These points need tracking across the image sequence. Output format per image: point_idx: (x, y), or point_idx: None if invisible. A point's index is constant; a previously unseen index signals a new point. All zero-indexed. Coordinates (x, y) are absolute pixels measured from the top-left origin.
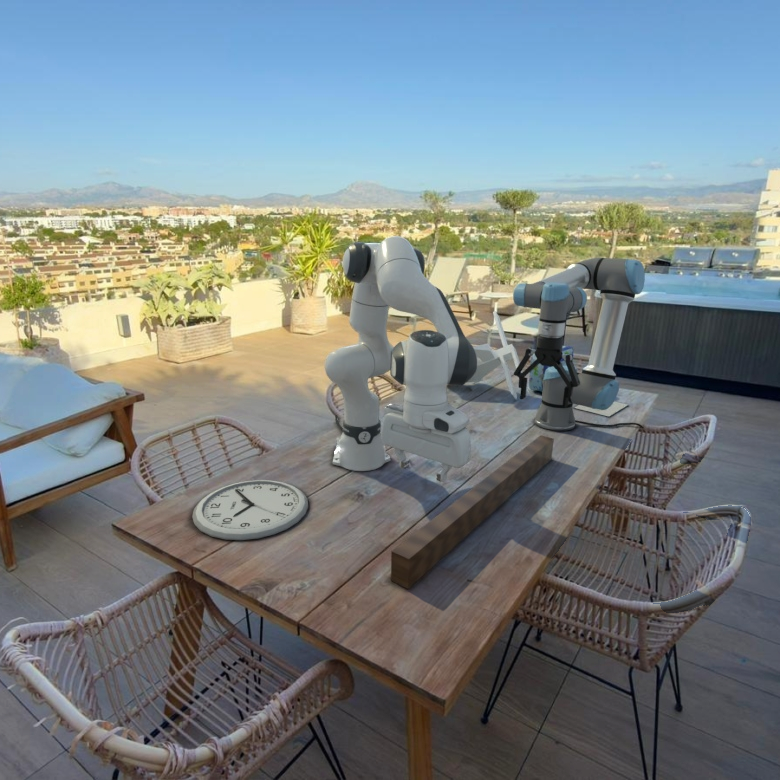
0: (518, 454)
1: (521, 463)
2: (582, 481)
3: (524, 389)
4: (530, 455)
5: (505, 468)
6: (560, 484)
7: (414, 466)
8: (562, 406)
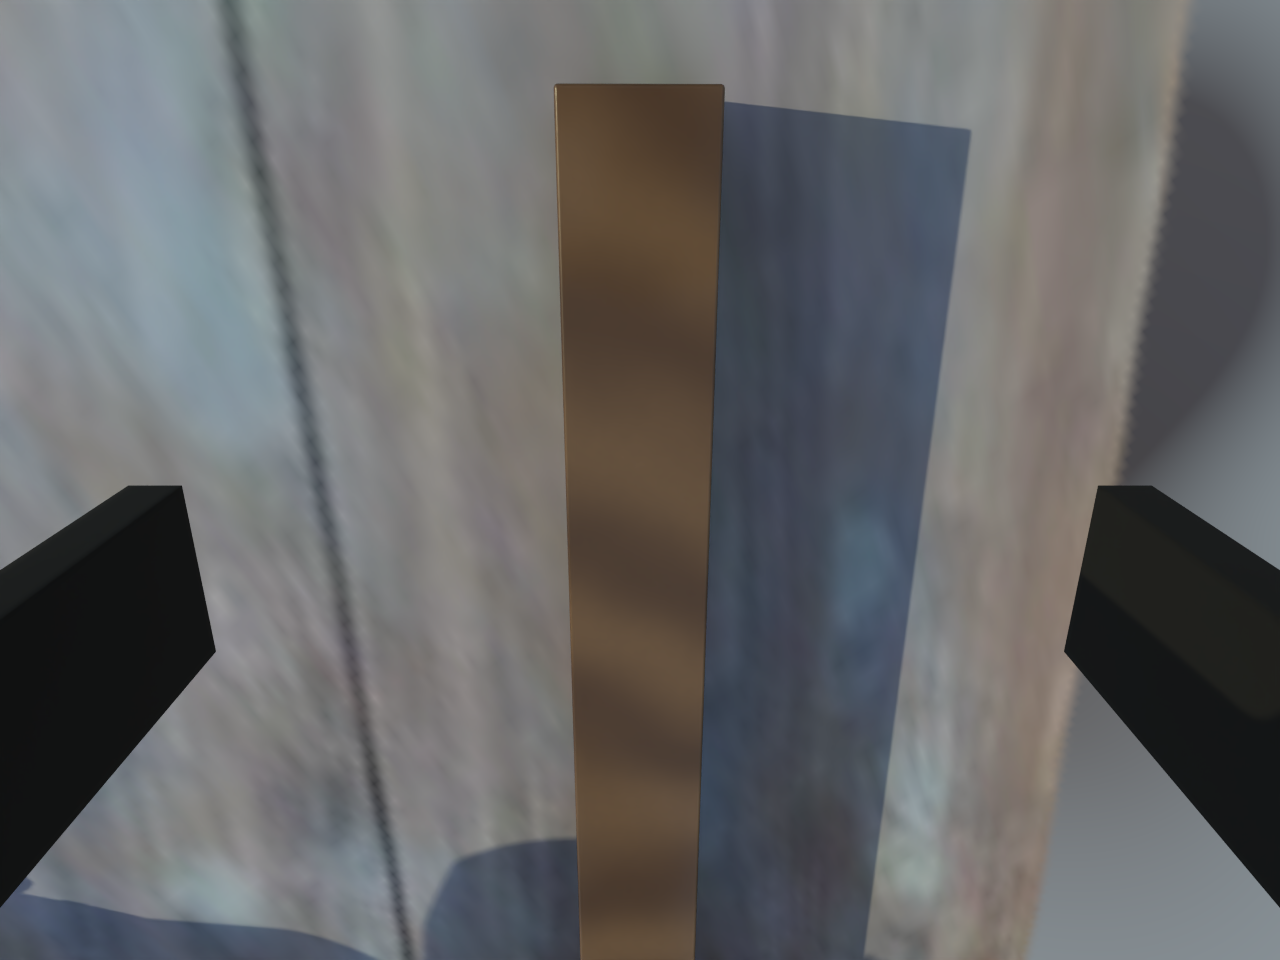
0: (591, 696)
1: (684, 821)
2: (1040, 370)
3: (75, 705)
4: (683, 657)
5: (624, 943)
6: (903, 517)
7: None
8: (1082, 669)
